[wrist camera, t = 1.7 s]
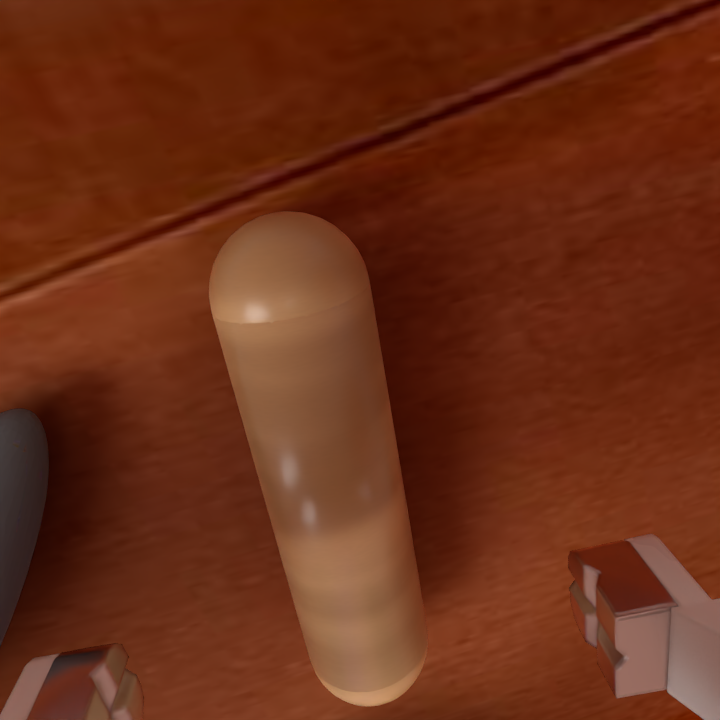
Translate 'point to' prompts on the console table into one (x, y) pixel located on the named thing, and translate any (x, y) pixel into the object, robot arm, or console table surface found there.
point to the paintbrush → (19, 502)
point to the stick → (324, 447)
